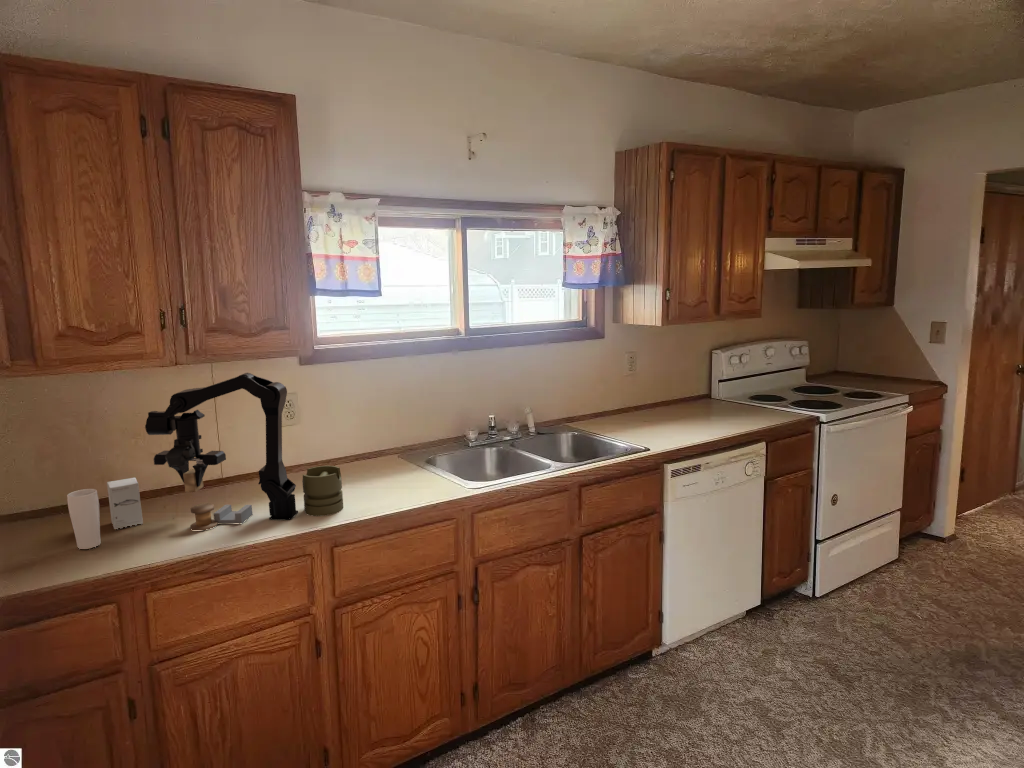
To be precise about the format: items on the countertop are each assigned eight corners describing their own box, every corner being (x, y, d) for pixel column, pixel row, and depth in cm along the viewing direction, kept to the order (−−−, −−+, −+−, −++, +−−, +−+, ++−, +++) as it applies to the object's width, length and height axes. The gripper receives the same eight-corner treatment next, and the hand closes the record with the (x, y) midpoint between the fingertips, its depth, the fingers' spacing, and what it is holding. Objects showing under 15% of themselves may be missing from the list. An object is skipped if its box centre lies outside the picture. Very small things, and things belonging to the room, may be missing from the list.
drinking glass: (71, 546, 174) (63, 493, 172) (100, 539, 179) (93, 486, 177) (77, 554, 170) (69, 498, 167) (107, 546, 174) (100, 492, 172)
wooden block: (203, 486, 194) (201, 468, 193) (195, 492, 189) (193, 473, 188) (193, 486, 194) (191, 468, 193) (185, 492, 190) (183, 474, 188)
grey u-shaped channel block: (252, 515, 195) (251, 504, 195) (241, 524, 188) (240, 513, 188) (226, 514, 196) (225, 504, 195) (214, 523, 189) (213, 513, 188)
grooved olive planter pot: (297, 477, 191) (306, 466, 202) (300, 516, 193) (309, 503, 204) (336, 476, 192) (343, 465, 203) (339, 515, 194) (346, 502, 205)
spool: (222, 521, 190) (220, 502, 189) (209, 531, 183) (207, 511, 182) (198, 521, 190) (196, 502, 189) (185, 531, 184) (183, 511, 183)
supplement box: (114, 530, 185) (108, 488, 183) (111, 523, 191) (106, 481, 189) (143, 524, 189) (138, 482, 187) (140, 517, 195) (135, 476, 193)
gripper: (138, 441, 181) (144, 495, 183) (204, 441, 180) (209, 495, 182) (162, 431, 192) (167, 482, 194) (224, 431, 191) (229, 483, 193)
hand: (192, 486), depth 191 cm, fingers closed on wooden block, 3 cm apart
